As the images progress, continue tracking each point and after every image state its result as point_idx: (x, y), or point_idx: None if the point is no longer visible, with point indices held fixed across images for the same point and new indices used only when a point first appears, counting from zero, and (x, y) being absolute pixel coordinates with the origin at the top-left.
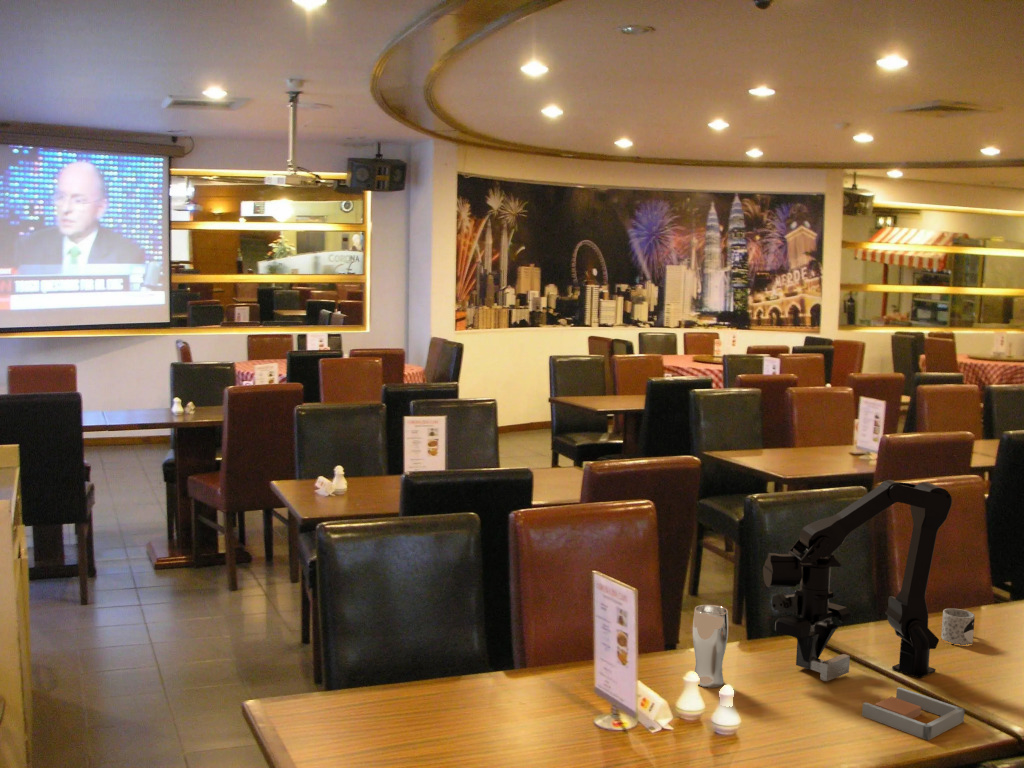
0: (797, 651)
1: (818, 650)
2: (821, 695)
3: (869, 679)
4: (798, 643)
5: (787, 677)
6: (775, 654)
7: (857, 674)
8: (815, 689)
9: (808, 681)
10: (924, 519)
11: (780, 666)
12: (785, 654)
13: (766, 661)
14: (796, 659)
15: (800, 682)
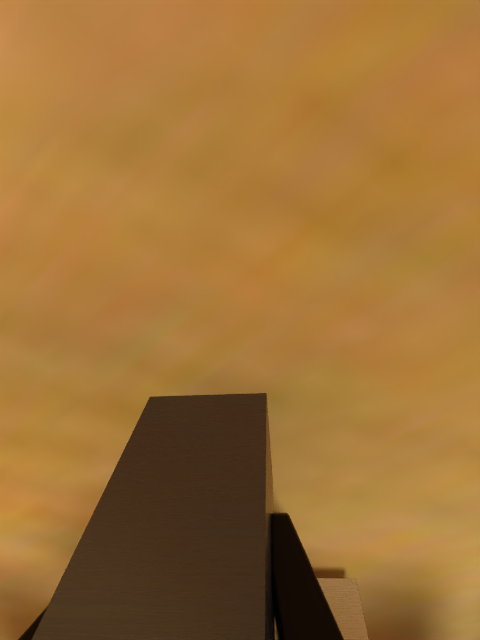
0: (103, 505)
1: (276, 631)
2: (32, 606)
3: (398, 633)
4: (52, 622)
5: (7, 428)
6: (286, 7)
7: (418, 588)
8: (51, 570)
9: (89, 513)
10: None
11: (90, 282)
12: (382, 80)
13: (47, 123)
14: (134, 432)
15: (36, 500)
